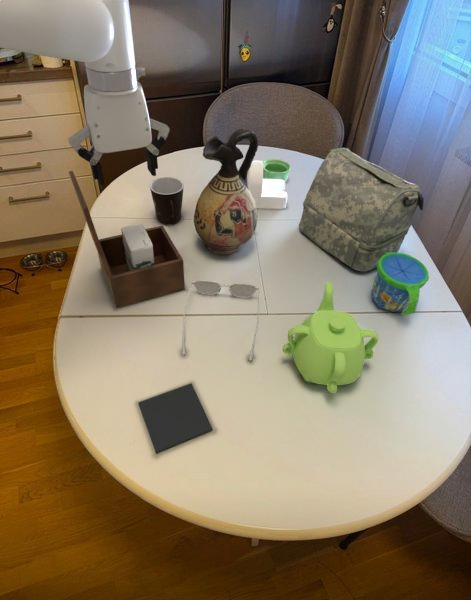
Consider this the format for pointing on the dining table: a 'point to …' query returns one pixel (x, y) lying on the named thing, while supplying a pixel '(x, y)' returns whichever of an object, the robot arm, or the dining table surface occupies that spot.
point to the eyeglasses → (214, 287)
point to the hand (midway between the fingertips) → (126, 177)
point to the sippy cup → (398, 282)
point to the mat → (174, 417)
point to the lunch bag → (358, 209)
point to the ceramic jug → (227, 196)
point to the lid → (89, 223)
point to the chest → (143, 270)
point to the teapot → (330, 345)
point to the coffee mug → (167, 199)
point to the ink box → (137, 247)
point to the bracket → (266, 188)
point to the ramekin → (276, 169)
